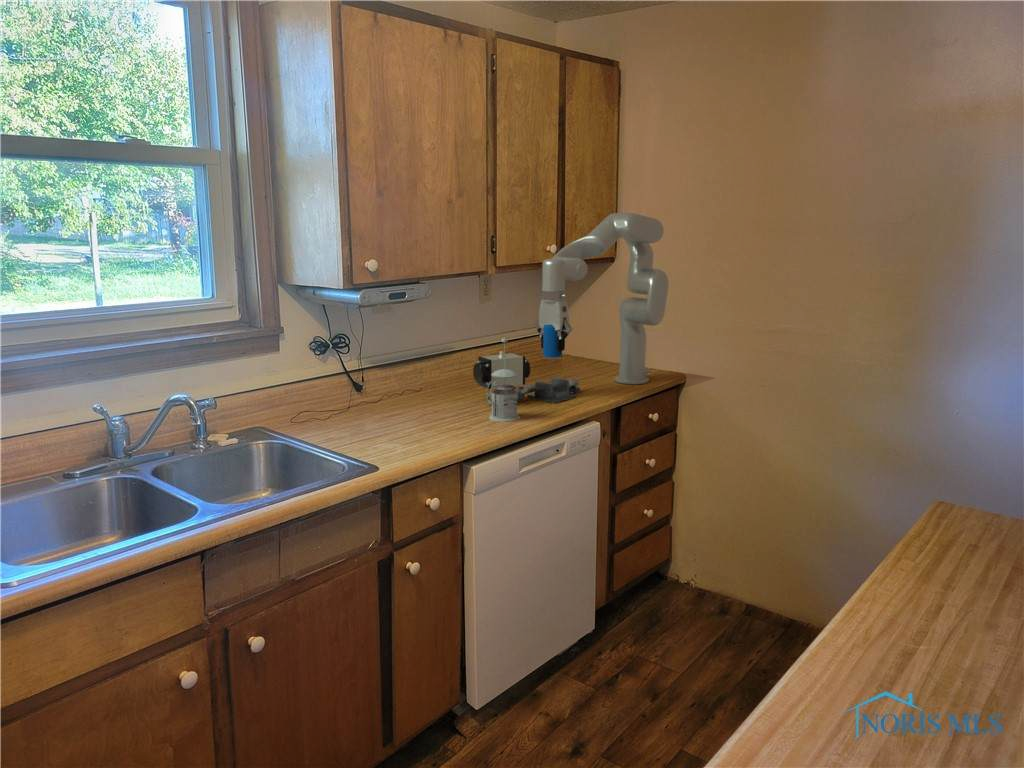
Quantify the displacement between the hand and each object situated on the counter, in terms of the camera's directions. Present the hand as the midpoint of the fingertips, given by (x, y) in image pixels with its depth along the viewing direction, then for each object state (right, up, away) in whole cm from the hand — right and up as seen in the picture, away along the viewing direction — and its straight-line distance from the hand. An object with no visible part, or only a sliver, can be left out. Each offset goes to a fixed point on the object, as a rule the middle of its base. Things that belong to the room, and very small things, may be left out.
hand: (552, 348), depth 258 cm
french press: (-17, -23, -22) cm, 36 cm away
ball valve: (-17, -19, -5) cm, 26 cm away
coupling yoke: (-1, -16, +5) cm, 17 cm away
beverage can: (0, -3, +1) cm, 3 cm away
